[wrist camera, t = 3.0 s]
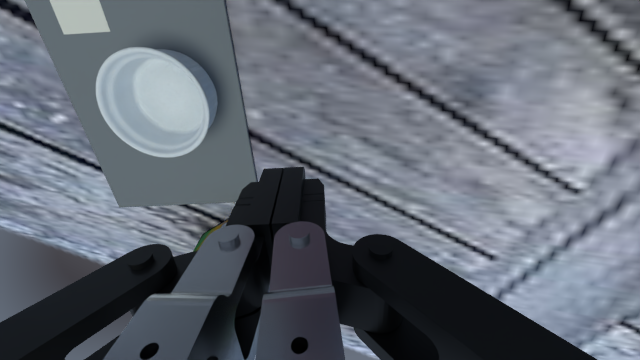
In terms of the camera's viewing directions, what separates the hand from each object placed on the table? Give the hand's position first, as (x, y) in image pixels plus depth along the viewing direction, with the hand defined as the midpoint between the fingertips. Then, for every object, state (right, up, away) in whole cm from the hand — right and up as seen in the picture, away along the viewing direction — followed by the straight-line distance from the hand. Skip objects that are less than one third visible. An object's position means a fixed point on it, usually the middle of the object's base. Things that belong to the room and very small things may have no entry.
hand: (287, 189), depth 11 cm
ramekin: (-12, +8, +16) cm, 22 cm away
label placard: (-14, +8, +17) cm, 23 cm away
